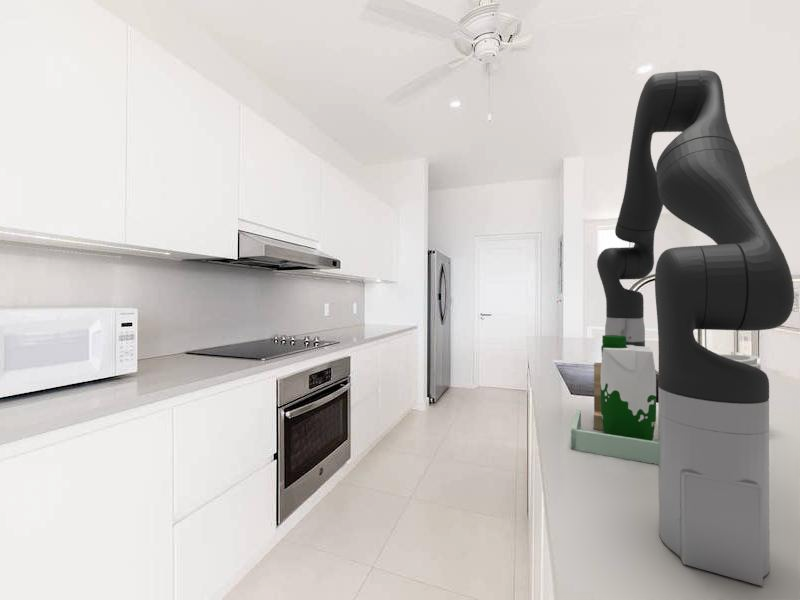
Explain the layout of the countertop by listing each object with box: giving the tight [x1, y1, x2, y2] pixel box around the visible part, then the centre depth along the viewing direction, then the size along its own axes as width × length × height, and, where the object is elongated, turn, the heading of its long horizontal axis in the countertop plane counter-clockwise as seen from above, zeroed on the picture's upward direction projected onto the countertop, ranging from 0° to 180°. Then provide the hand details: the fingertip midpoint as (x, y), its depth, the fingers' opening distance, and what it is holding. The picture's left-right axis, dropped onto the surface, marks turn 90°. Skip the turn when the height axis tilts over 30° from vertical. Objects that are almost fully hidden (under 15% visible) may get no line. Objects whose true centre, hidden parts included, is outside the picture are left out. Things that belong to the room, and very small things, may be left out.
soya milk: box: [600, 334, 657, 441], centre depth 71 cm, size 9×9×20 cm
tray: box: [570, 409, 659, 466], centre depth 68 cm, size 14×19×4 cm
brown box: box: [593, 362, 604, 432], centre depth 77 cm, size 7×10×13 cm
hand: (624, 415), depth 82 cm, fingers closed
